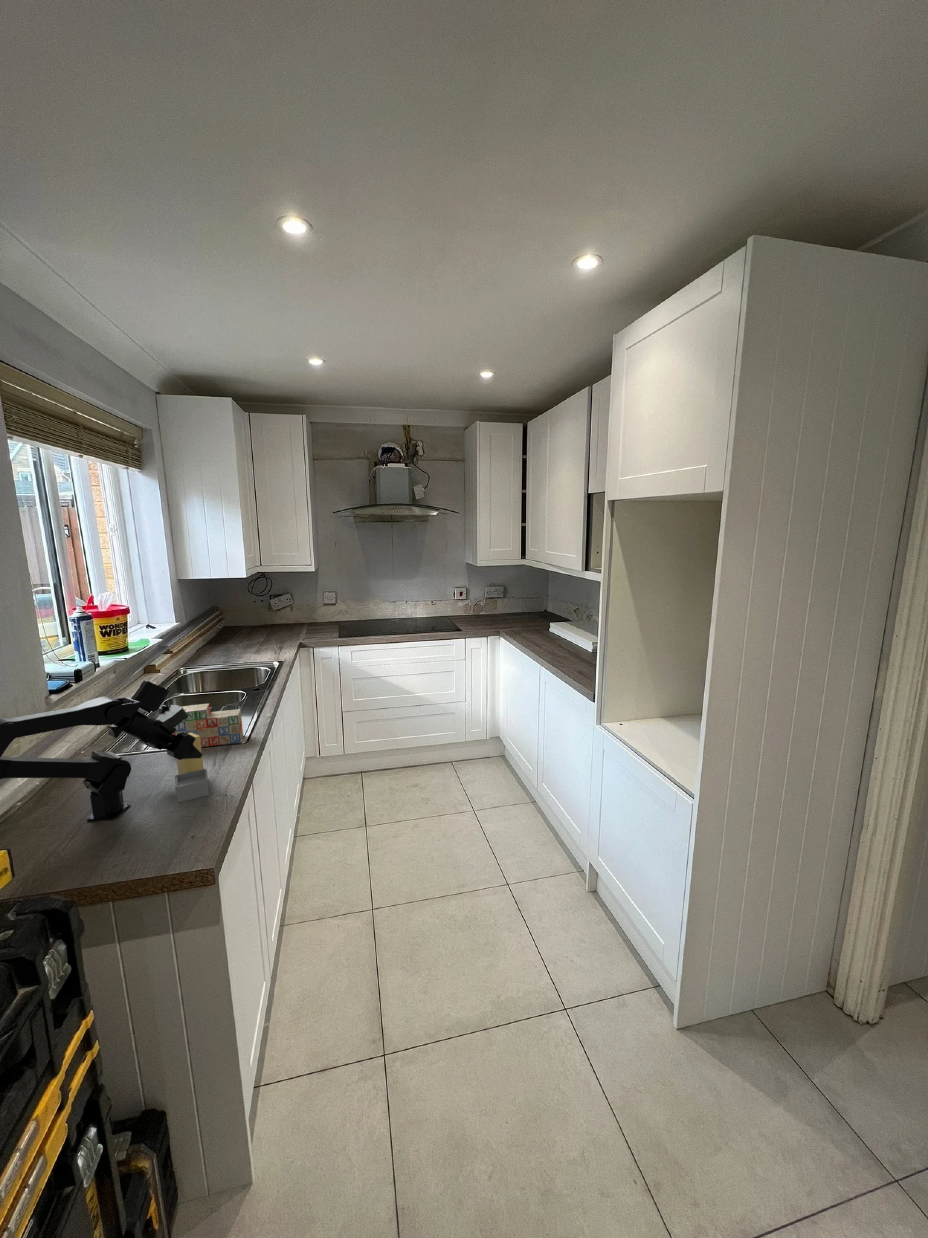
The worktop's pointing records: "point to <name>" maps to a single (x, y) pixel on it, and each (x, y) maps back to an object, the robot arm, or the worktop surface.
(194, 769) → the mustard brick
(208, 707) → the stack of blocks
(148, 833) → the worktop surface
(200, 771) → the base tray
